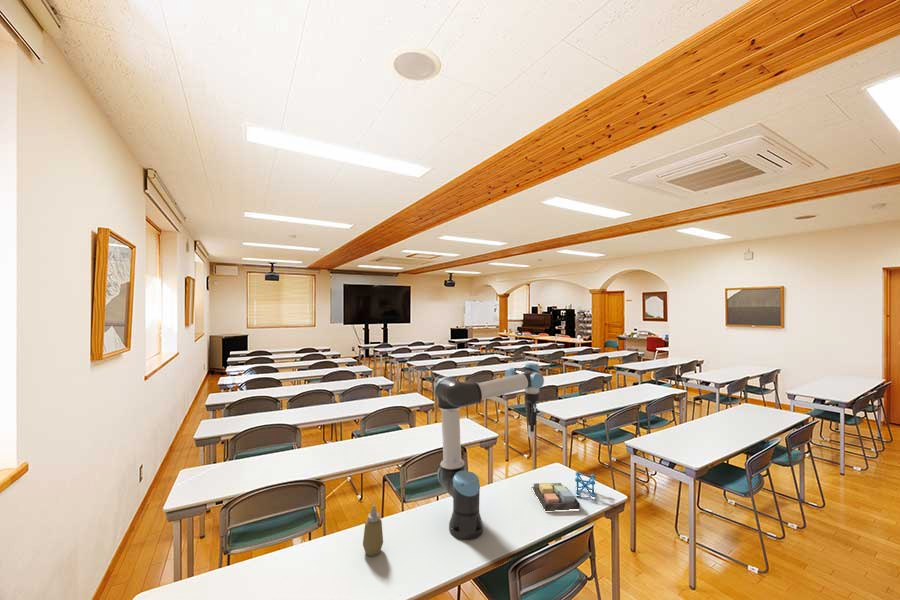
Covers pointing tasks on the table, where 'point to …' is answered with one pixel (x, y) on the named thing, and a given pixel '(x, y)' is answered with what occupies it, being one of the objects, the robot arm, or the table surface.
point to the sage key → (559, 489)
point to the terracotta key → (551, 498)
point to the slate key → (567, 496)
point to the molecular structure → (585, 485)
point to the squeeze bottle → (373, 534)
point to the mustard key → (546, 488)
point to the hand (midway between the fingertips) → (531, 437)
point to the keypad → (554, 506)
